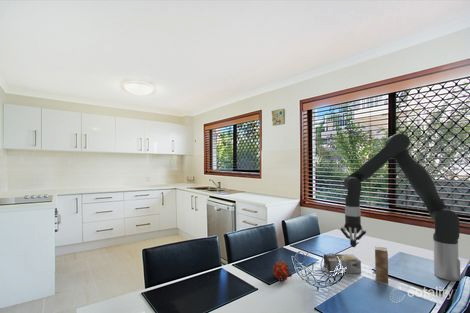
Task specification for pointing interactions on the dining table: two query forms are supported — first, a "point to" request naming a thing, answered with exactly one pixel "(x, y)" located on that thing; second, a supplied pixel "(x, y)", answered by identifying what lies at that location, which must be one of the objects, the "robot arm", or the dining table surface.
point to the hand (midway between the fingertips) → (353, 246)
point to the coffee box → (347, 260)
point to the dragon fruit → (281, 270)
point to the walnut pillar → (381, 264)
